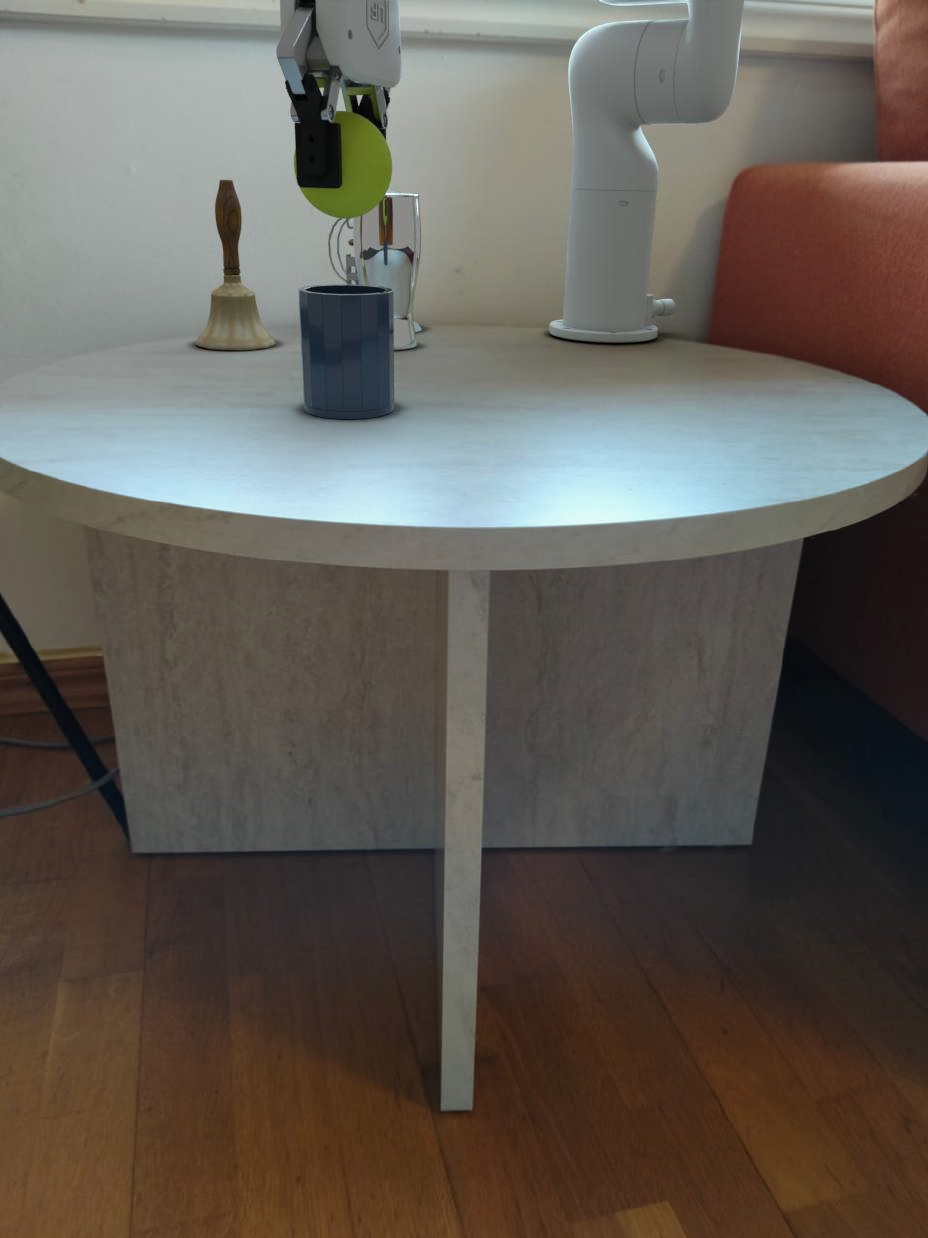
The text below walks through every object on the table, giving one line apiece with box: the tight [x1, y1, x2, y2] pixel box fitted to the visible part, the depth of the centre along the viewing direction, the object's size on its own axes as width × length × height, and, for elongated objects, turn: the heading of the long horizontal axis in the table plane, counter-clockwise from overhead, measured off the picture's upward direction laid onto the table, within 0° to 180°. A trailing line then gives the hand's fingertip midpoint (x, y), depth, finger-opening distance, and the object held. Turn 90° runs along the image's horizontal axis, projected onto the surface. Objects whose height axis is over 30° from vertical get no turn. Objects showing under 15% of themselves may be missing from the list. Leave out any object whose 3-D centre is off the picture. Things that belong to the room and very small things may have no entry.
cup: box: [297, 283, 395, 420], centre depth 76 cm, size 7×7×9 cm
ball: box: [293, 110, 393, 220], centre depth 70 cm, size 7×7×7 cm
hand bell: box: [195, 179, 277, 351], centre depth 101 cm, size 8×8×16 cm
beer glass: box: [352, 192, 422, 351], centre depth 102 cm, size 7×7×15 cm
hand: (343, 185), depth 71 cm, fingers closed on ball, 6 cm apart
